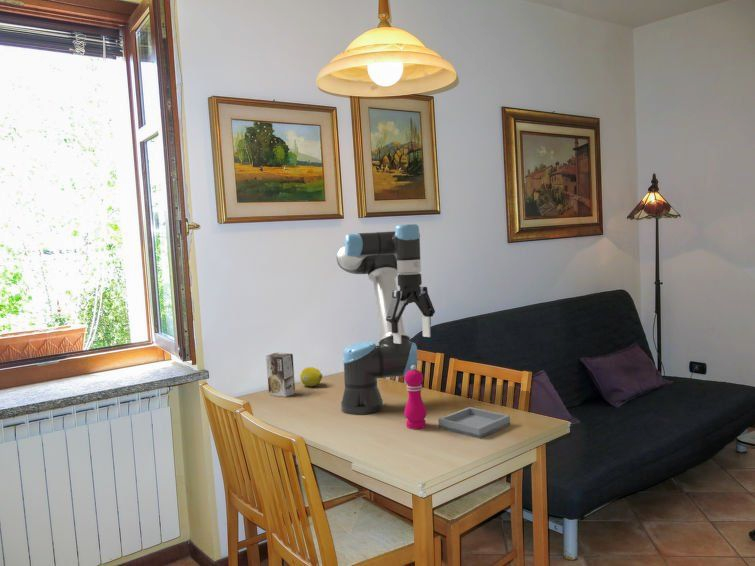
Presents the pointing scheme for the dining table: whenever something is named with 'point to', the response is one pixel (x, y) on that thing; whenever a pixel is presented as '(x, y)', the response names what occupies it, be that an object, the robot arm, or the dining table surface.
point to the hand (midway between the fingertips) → (412, 339)
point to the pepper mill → (415, 400)
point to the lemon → (310, 376)
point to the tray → (474, 422)
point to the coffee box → (280, 374)
